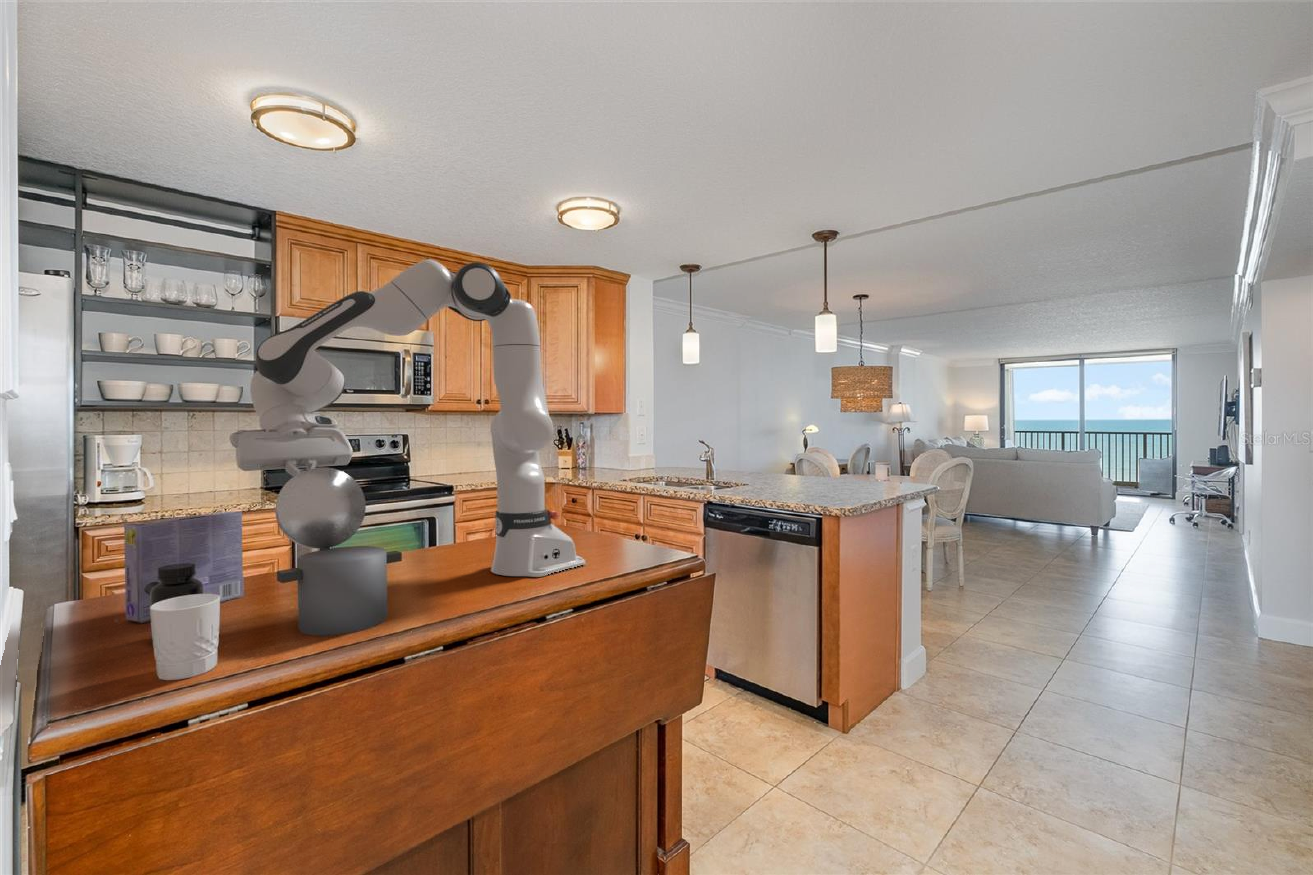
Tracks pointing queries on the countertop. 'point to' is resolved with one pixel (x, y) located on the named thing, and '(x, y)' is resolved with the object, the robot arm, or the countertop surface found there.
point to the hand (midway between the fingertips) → (306, 480)
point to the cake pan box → (183, 556)
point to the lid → (320, 508)
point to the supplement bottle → (175, 583)
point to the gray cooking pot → (341, 589)
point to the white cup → (185, 635)
